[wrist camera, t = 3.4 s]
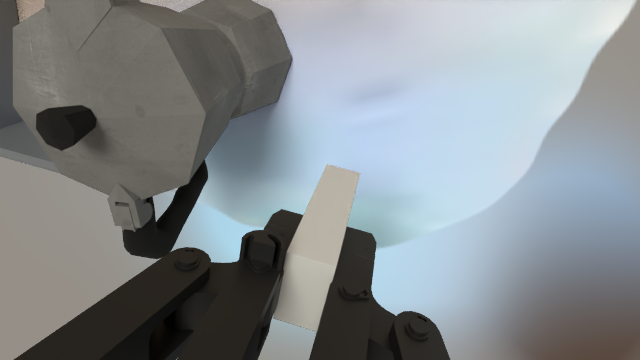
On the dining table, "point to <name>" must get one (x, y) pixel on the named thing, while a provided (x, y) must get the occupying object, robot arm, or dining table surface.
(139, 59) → the coffeepot
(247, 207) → the dining table surface
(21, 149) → the box
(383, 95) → the dining table surface
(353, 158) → the dining table surface
